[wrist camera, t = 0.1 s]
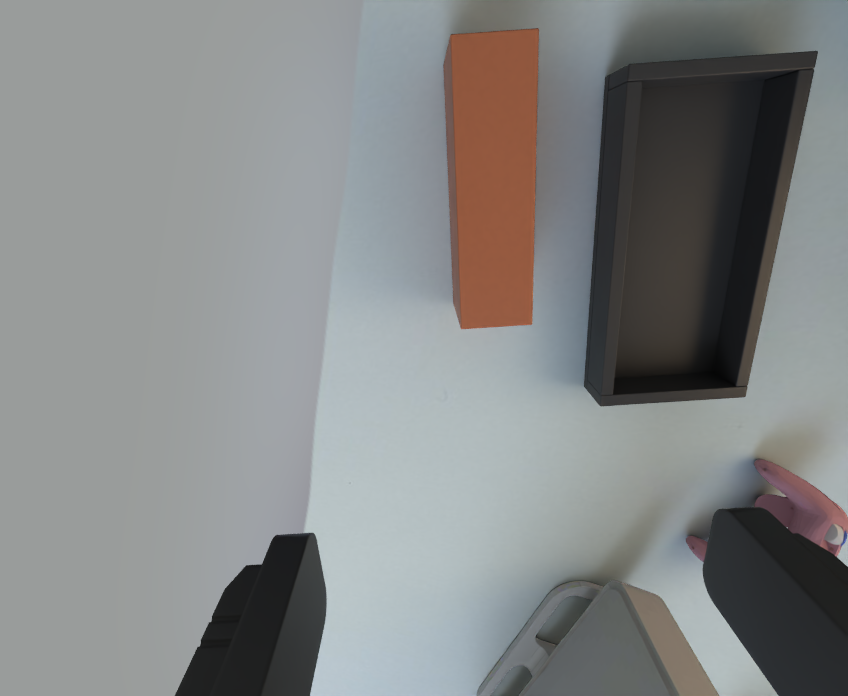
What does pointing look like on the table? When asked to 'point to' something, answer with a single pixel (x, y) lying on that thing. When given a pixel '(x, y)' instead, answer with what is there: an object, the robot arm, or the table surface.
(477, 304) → the rectangular block
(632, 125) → the tray
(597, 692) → the network device
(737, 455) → the table surface
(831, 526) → the video game controller
